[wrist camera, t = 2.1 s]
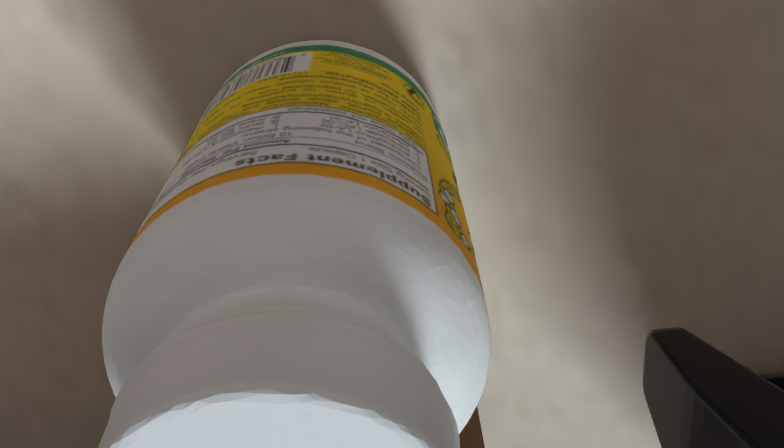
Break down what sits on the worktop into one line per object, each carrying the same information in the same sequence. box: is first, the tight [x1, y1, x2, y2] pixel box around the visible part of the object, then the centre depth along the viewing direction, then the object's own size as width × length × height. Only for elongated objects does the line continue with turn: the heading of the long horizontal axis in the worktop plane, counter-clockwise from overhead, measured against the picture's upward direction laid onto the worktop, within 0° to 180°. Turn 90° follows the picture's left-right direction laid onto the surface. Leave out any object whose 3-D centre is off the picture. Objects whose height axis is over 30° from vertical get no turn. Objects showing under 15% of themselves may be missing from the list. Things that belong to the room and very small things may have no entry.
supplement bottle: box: [98, 40, 491, 448], centre depth 12 cm, size 5×5×10 cm
